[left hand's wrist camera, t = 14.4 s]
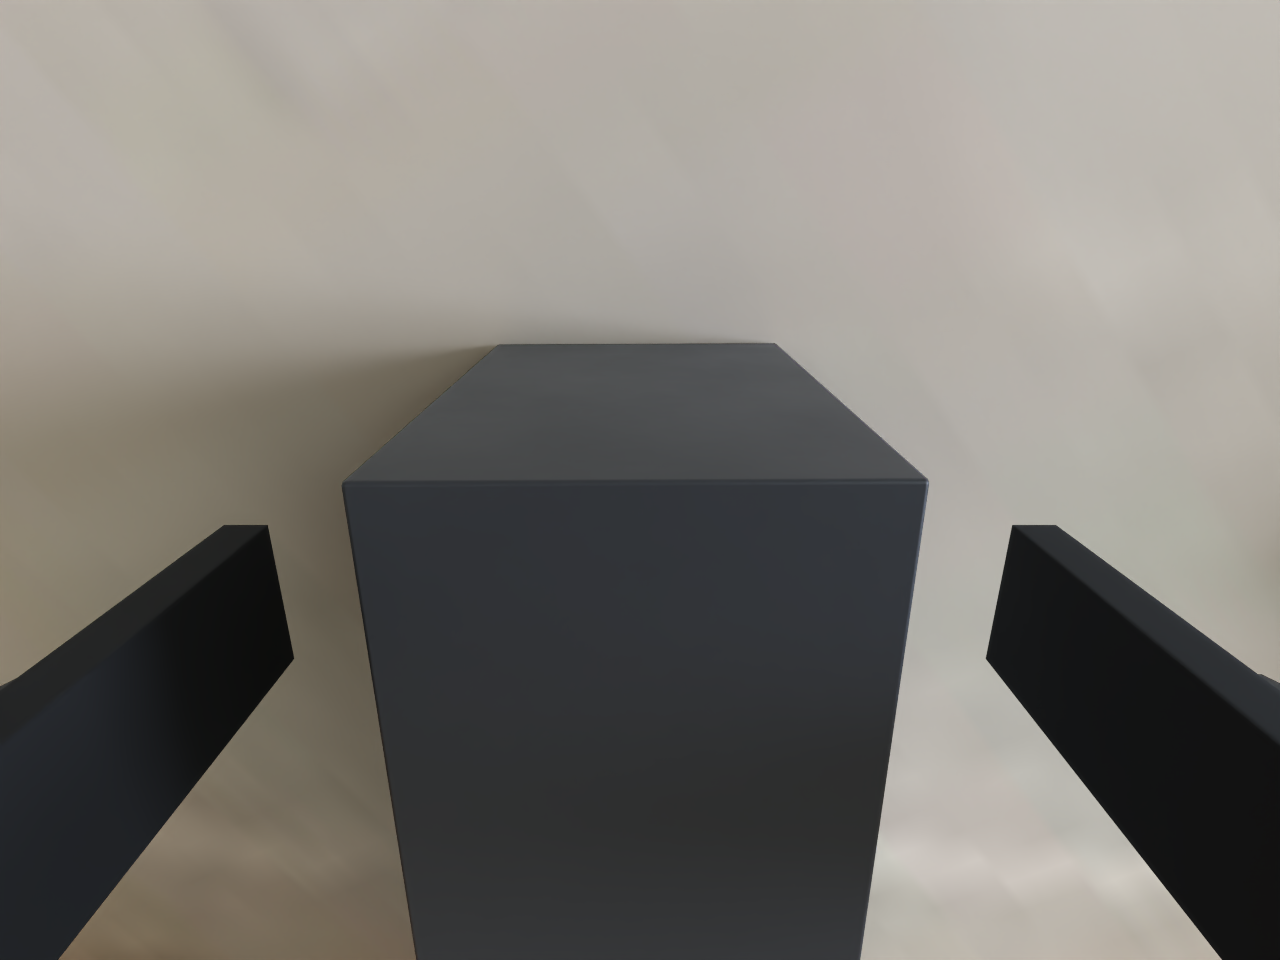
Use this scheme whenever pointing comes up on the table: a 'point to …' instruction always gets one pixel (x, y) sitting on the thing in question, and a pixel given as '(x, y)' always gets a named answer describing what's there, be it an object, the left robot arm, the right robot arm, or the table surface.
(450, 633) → the bar
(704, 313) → the table surface
